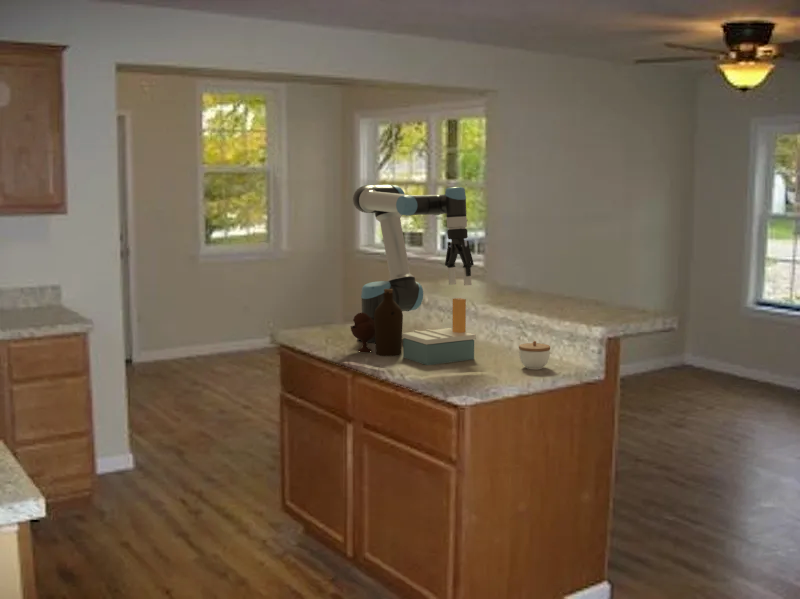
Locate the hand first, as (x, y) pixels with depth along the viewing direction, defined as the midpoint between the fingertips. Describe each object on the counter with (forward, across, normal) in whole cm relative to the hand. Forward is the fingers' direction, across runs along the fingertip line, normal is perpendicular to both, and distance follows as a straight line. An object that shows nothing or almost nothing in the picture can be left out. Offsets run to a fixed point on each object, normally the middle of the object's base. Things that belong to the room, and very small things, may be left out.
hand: (460, 284), depth 339 cm
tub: (+26, -12, +16) cm, 33 cm away
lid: (+18, -13, +16) cm, 27 cm away
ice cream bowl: (+24, +15, +34) cm, 44 cm away
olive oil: (+25, +2, +29) cm, 38 cm away
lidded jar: (+29, -36, -10) cm, 47 cm away
